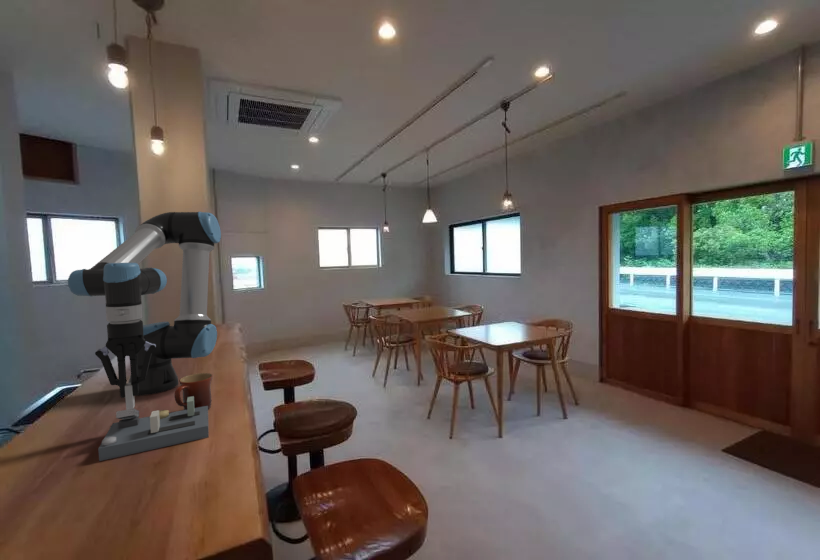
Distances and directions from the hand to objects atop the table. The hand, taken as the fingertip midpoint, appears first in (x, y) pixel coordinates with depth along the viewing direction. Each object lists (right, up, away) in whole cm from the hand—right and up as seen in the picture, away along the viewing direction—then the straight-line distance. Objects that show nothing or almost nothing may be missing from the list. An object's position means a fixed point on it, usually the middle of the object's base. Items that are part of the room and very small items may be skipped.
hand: (130, 407), depth 99 cm
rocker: (+2, 0, -3) cm, 4 cm away
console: (+10, -6, -3) cm, 12 cm away
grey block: (+15, -2, +3) cm, 15 cm away
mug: (+10, -6, +11) cm, 16 cm away
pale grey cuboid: (+11, -3, -7) cm, 13 cm away
